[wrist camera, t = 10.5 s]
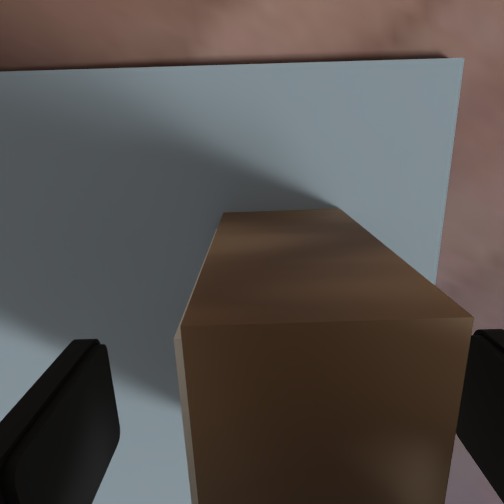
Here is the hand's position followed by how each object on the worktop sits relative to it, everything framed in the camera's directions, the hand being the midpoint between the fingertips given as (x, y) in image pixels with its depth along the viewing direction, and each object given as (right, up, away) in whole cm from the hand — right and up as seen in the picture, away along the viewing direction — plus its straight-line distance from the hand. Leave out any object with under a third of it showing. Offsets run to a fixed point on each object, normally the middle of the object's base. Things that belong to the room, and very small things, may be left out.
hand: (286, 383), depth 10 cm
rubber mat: (-3, +1, +3) cm, 4 cm away
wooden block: (0, +1, +3) cm, 3 cm away
